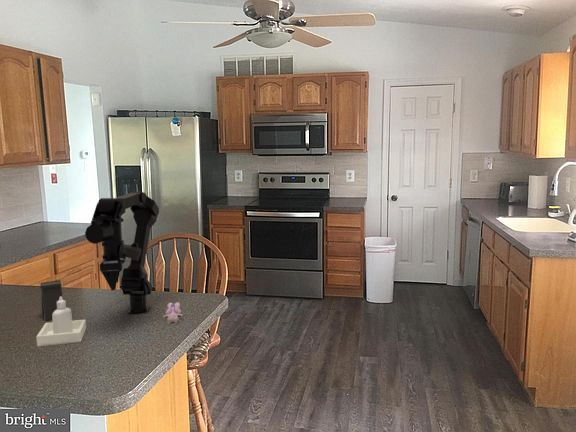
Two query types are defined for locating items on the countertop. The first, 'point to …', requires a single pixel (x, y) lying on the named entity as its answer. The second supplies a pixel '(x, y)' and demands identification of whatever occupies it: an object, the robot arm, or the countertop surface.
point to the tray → (61, 334)
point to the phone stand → (50, 298)
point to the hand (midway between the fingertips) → (114, 286)
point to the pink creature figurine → (173, 313)
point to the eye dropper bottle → (62, 318)
